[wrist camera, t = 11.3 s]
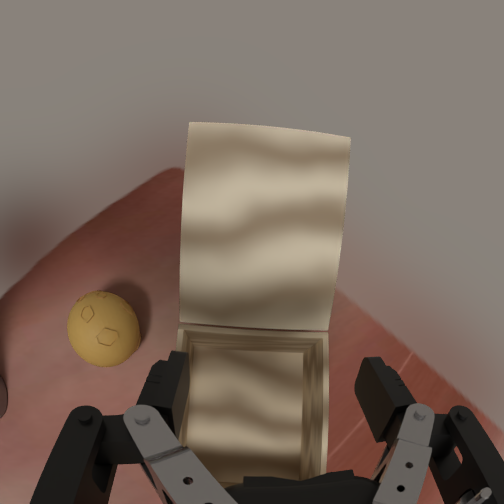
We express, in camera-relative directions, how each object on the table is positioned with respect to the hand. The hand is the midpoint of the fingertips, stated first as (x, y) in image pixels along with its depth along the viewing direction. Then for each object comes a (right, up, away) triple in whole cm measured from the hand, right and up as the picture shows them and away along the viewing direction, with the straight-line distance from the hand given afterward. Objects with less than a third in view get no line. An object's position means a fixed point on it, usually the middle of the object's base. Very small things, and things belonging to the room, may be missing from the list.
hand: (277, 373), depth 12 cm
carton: (-2, -16, +22) cm, 27 cm away
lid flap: (0, +7, +16) cm, 18 cm away
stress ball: (-21, -7, +26) cm, 34 cm away
